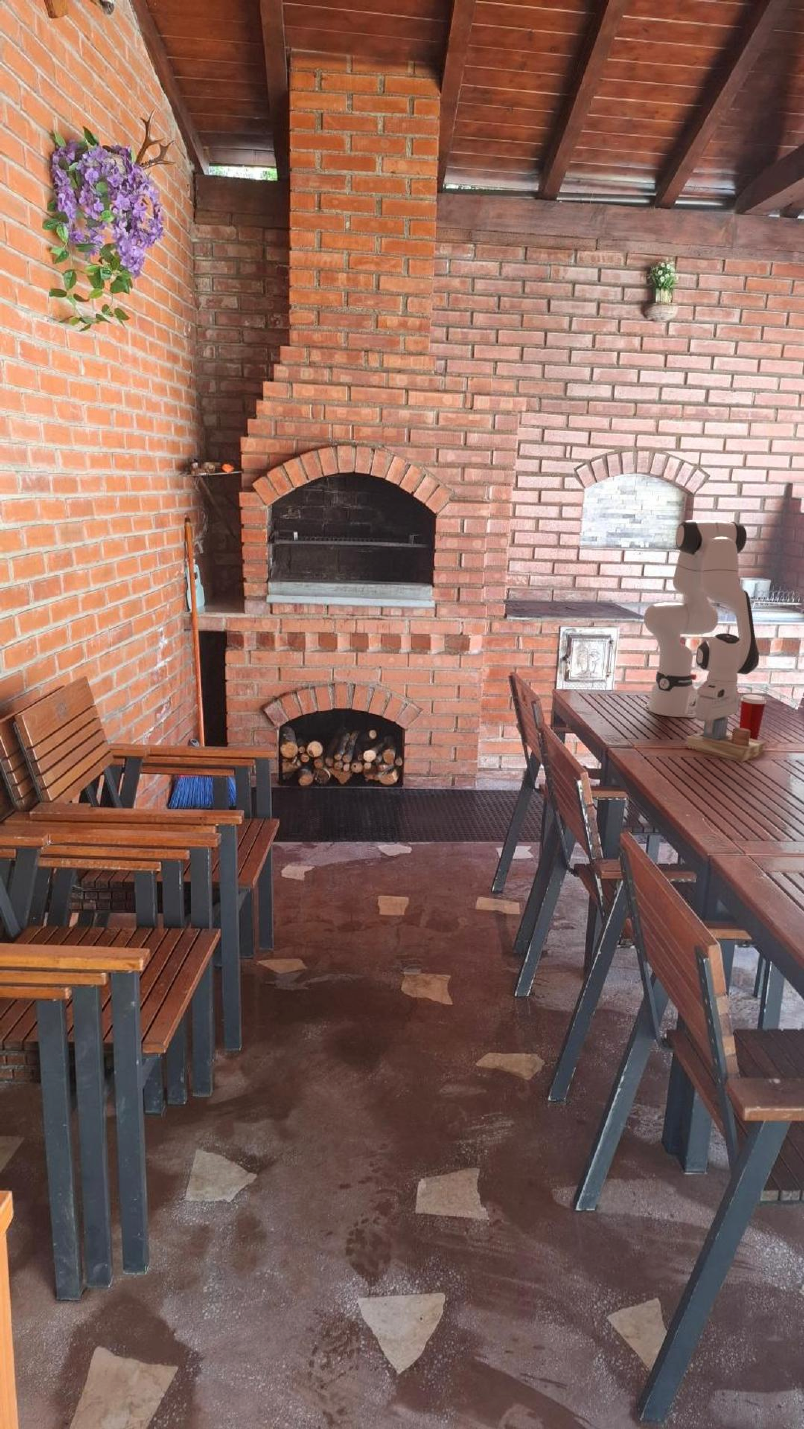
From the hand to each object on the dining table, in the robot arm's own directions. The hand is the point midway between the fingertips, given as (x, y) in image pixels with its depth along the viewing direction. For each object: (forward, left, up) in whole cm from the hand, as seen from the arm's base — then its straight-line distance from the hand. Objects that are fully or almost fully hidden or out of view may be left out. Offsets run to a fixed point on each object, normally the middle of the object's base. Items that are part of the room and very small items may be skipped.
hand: (714, 731), depth 282 cm
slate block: (0, 0, -2) cm, 2 cm away
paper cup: (-18, +2, -5) cm, 19 cm away
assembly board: (0, +4, -5) cm, 7 cm away
